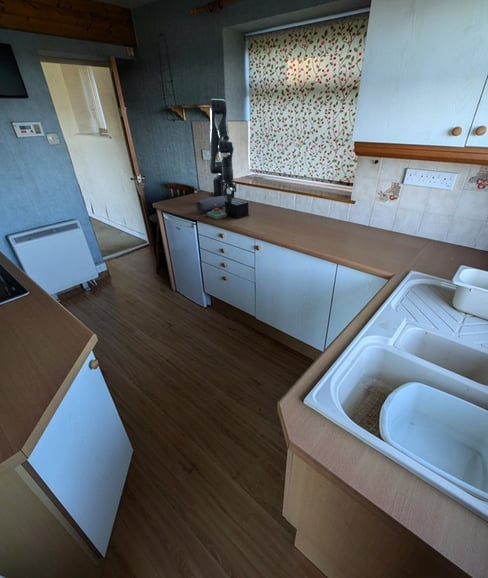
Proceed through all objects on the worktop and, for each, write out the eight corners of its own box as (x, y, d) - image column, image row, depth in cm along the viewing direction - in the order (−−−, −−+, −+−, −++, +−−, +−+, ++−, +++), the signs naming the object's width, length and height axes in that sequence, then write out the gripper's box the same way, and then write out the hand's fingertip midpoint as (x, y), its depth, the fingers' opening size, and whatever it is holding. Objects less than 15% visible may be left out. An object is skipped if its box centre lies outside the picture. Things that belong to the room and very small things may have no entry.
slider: (227, 200, 214) (226, 193, 211) (229, 200, 215) (229, 193, 213) (229, 201, 213) (228, 194, 210) (231, 200, 214) (231, 193, 211)
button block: (206, 215, 218) (206, 210, 216) (217, 212, 224) (217, 207, 222) (216, 219, 211) (215, 213, 209) (227, 216, 216) (226, 210, 214)
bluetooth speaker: (203, 215, 219) (202, 201, 214) (196, 212, 225) (195, 199, 220) (227, 209, 232) (226, 196, 227) (220, 206, 238) (219, 194, 233)
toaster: (225, 214, 220) (224, 201, 214) (236, 211, 226) (236, 198, 221) (237, 219, 210) (236, 204, 205) (249, 215, 217) (248, 201, 212)
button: (213, 211, 216) (212, 208, 215) (217, 210, 218) (216, 207, 217) (215, 212, 213) (215, 209, 212) (219, 211, 215) (219, 208, 214)
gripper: (238, 173, 202) (239, 197, 210) (225, 171, 211) (227, 194, 219) (229, 175, 197) (231, 199, 206) (217, 172, 207) (219, 196, 215)
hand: (229, 196), depth 212 cm, fingers open, 8 cm apart
